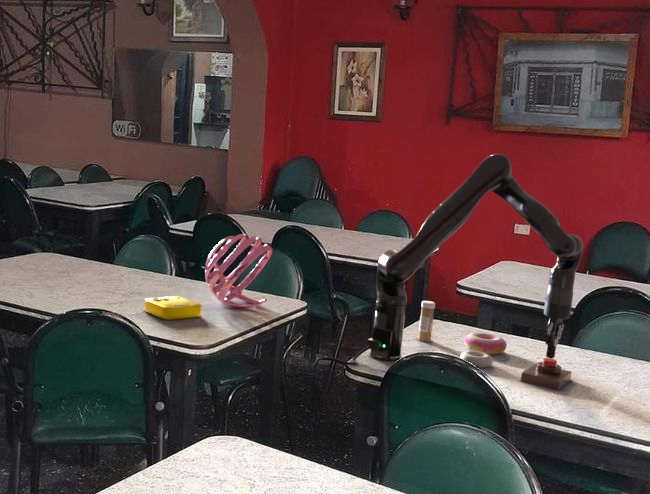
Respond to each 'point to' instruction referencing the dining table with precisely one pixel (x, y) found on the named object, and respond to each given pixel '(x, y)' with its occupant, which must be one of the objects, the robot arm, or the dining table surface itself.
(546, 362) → the light button
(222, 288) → the spiral basket
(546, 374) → the switch block
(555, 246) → the robot arm
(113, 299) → the dining table surface
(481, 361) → the donut
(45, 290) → the dining table surface
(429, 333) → the sprinkles bottle
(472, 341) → the donut
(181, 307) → the element tile
